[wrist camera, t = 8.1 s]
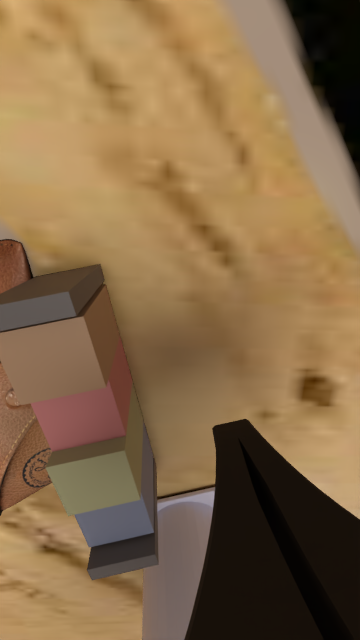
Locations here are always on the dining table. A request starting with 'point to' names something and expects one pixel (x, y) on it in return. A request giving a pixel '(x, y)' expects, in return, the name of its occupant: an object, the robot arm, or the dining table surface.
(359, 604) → the robot arm
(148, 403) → the dining table surface
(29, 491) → the sunglasses case
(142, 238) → the dining table surface
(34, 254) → the dining table surface
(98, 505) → the book row
